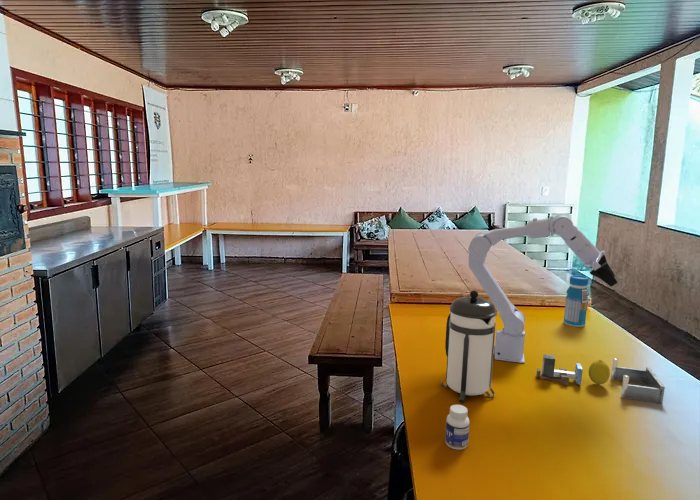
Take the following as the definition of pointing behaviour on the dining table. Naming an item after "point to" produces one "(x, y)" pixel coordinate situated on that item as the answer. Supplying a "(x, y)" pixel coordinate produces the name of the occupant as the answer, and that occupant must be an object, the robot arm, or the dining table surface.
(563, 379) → the track
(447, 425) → the pill bottle
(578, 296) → the beverage bottle
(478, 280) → the robot arm
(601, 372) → the lemon
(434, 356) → the dining table surface
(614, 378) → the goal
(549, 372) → the rod
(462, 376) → the coffee press
